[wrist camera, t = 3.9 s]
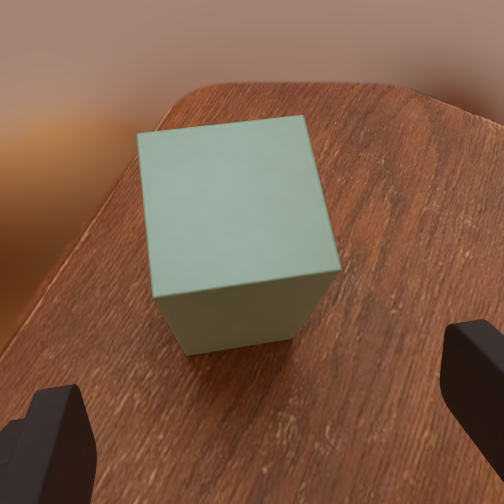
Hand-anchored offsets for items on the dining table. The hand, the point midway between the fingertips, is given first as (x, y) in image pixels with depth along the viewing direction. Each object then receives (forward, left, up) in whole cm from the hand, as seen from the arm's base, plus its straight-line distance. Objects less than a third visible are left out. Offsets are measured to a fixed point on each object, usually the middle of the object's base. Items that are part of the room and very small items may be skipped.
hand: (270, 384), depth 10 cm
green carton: (-4, +3, -11) cm, 12 cm away
